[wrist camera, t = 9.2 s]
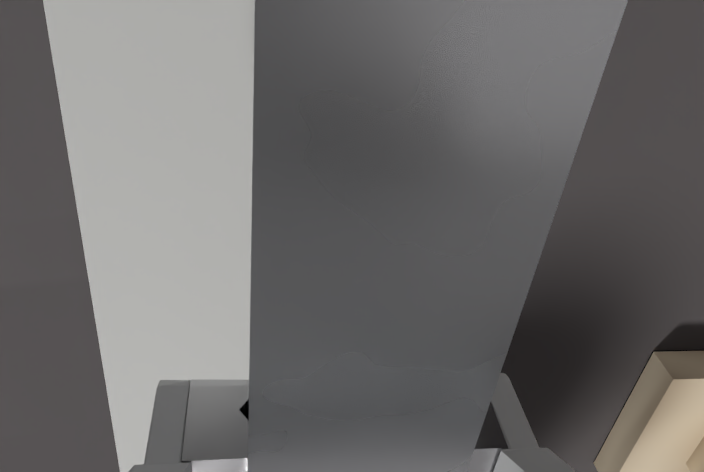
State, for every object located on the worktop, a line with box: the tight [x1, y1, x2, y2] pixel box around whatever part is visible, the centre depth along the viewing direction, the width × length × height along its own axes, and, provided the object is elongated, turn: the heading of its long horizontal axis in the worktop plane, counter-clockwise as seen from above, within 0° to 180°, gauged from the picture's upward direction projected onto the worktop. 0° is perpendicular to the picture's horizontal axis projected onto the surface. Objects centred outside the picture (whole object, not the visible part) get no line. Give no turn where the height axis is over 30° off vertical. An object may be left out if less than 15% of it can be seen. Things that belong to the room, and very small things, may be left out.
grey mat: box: [43, 0, 255, 472], centre depth 16 cm, size 10×28×1 cm, turn 174°
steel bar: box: [248, 0, 628, 472], centre depth 10 cm, size 3×24×3 cm, turn 174°
